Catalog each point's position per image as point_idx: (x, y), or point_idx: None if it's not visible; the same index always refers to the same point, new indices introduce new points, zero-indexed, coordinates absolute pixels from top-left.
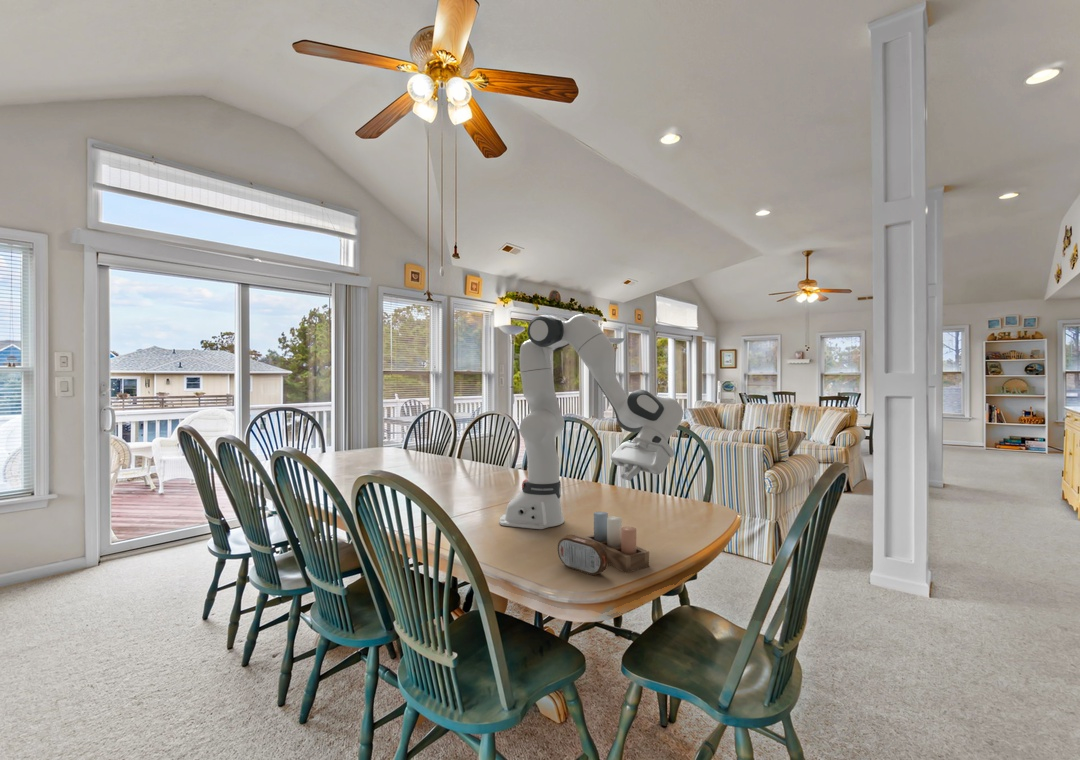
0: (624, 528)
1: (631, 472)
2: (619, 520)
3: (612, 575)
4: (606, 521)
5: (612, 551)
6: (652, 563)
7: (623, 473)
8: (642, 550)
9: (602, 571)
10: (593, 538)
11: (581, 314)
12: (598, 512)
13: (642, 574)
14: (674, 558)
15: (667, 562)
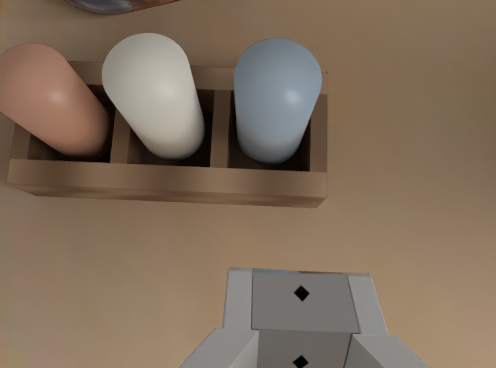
0: (49, 68)
1: (201, 346)
2: (103, 76)
3: (68, 35)
4: (235, 103)
5: None
6: (50, 231)
7: (348, 301)
8: (34, 169)
9: (93, 9)
10: (309, 123)
11: None
12: (303, 80)
13: (5, 122)
14: (25, 354)
15: (16, 291)
